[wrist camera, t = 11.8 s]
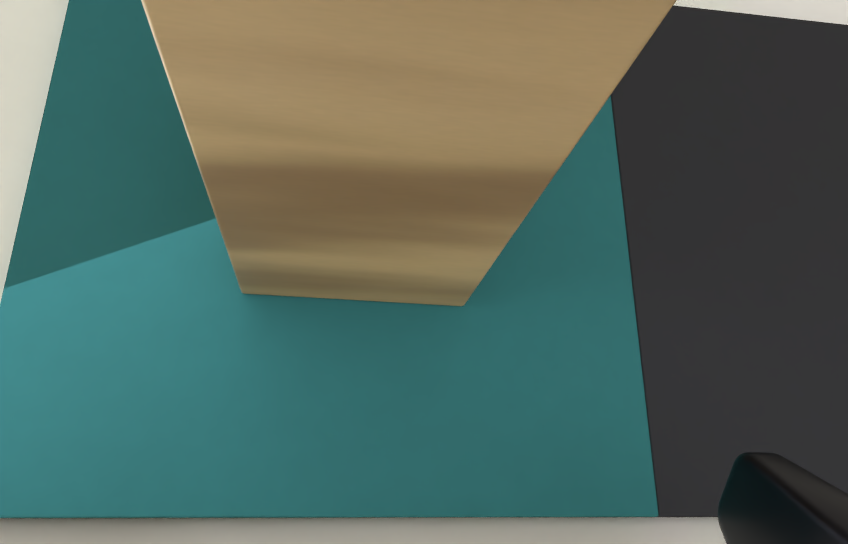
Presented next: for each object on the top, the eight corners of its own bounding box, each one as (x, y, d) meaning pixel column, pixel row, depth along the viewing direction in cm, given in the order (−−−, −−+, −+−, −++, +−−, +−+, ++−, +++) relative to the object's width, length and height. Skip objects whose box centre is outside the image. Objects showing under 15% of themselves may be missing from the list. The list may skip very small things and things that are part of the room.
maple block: (464, 307, 15) (1014, -475, 3) (240, 294, 15) (-126, -751, 3) (463, 119, 17) (818, -847, 5) (262, 100, 16) (106, -1077, 4)
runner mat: (1244, 515, 17) (1265, 516, 17) (-39, 517, 13) (-50, 518, 12) (1063, 58, 22) (1076, 50, 21) (87, -50, 18) (82, -62, 17)
